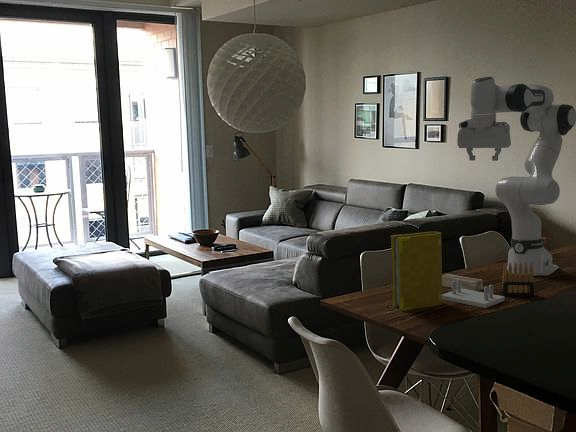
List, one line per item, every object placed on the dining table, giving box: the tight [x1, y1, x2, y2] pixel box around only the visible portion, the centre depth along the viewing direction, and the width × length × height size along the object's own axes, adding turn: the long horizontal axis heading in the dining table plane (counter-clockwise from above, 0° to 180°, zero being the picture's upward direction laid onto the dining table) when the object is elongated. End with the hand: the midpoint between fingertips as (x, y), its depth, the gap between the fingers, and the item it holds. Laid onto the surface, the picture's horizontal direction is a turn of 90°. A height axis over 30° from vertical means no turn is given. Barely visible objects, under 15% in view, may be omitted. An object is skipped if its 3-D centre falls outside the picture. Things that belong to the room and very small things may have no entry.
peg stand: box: [442, 279, 506, 309], centre depth 227 cm, size 12×18×6 cm, turn 41°
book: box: [390, 231, 443, 312], centre depth 223 cm, size 17×7×25 cm, turn 106°
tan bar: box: [442, 273, 484, 292], centre depth 245 cm, size 5×16×4 cm, turn 41°
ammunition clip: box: [501, 262, 535, 297], centre depth 230 cm, size 11×2×12 cm, turn 76°
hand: (483, 160), depth 237 cm, fingers open, 8 cm apart
